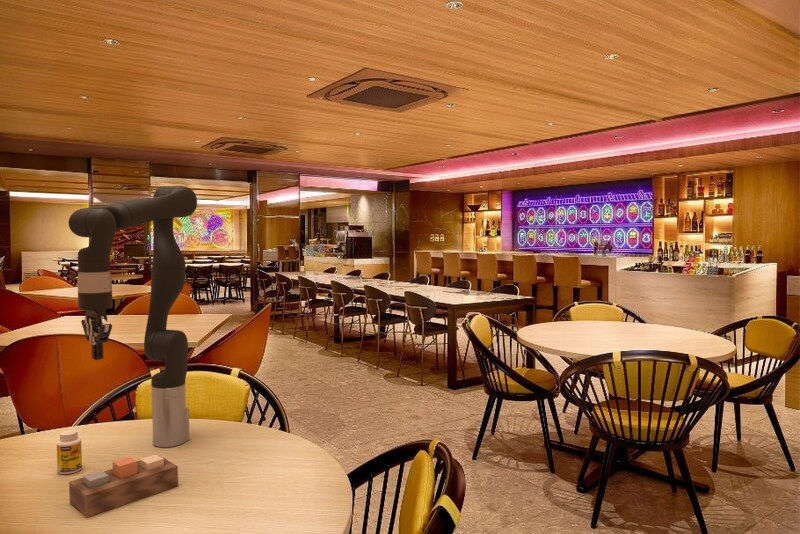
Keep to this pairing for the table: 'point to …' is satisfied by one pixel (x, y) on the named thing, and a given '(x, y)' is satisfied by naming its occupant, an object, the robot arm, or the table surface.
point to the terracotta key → (124, 467)
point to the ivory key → (151, 462)
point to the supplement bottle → (69, 452)
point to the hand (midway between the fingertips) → (97, 359)
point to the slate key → (95, 479)
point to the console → (122, 489)
